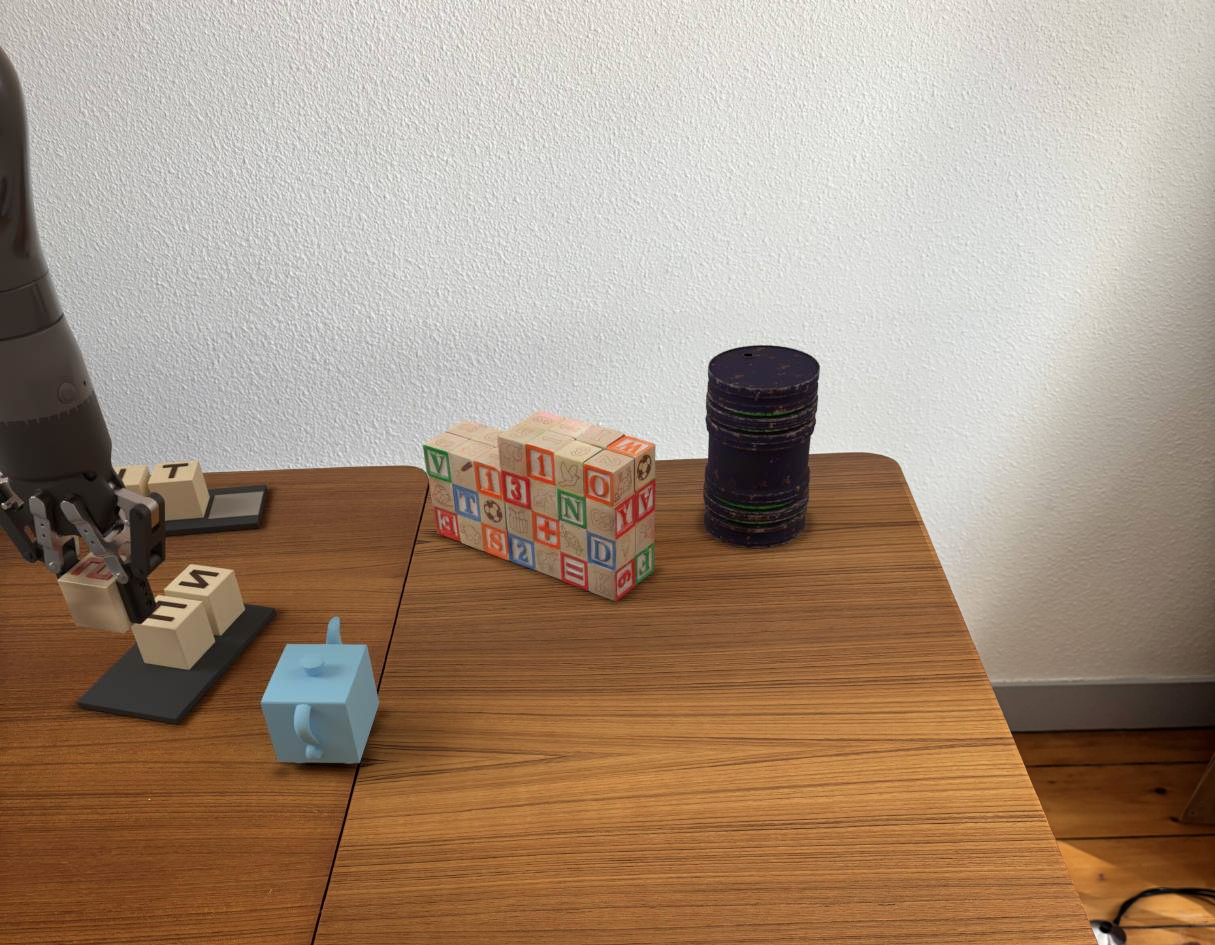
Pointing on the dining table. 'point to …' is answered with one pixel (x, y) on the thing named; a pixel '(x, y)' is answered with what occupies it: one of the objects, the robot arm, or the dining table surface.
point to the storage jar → (759, 444)
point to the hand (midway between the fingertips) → (115, 612)
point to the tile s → (94, 596)
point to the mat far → (195, 498)
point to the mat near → (180, 648)
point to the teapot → (321, 701)
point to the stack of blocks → (549, 498)
